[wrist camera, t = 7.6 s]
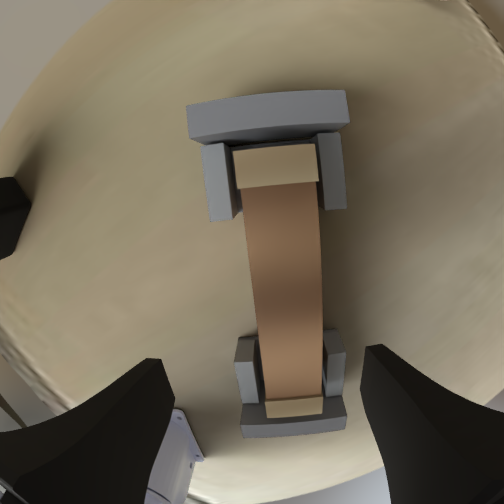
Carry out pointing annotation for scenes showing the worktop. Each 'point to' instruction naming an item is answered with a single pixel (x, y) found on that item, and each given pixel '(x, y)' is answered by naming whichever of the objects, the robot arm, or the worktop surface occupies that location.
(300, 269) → the rail
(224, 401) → the worktop surface
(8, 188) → the battery
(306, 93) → the post slots
